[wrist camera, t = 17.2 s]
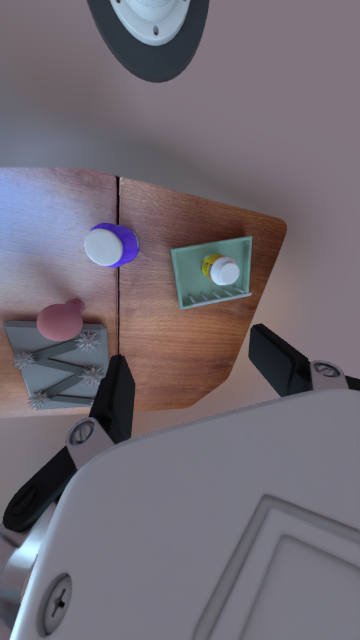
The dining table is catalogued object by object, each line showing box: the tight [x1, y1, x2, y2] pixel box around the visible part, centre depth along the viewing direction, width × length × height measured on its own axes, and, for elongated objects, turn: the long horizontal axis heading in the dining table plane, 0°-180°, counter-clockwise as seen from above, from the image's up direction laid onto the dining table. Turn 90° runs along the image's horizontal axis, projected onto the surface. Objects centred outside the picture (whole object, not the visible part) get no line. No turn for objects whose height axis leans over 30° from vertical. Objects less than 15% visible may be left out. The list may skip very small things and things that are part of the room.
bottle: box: [84, 223, 139, 267], centre depth 26 cm, size 7×6×17 cm
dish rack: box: [171, 236, 252, 309], centre depth 37 cm, size 14×18×7 cm
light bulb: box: [36, 299, 84, 341], centre depth 33 cm, size 7×7×12 cm
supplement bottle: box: [201, 253, 240, 285], centre depth 34 cm, size 6×6×10 cm
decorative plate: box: [3, 320, 109, 410], centre depth 42 cm, size 30×22×7 cm
